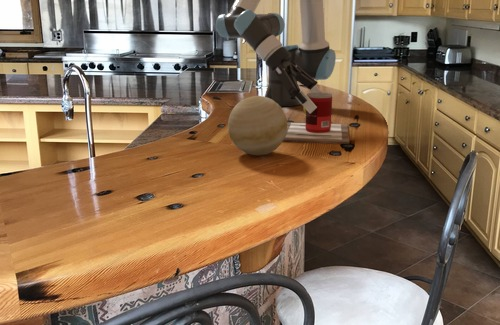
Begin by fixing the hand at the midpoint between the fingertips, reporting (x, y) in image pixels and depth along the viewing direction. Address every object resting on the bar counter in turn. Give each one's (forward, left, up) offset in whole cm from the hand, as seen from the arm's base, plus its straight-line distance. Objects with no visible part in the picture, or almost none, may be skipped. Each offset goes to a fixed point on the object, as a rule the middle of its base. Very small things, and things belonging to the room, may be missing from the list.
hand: (320, 107), depth 156 cm
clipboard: (0, -1, -8) cm, 8 cm away
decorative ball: (+28, -15, -8) cm, 33 cm away
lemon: (-23, -3, -8) cm, 25 cm away
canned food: (-1, 0, -7) cm, 7 cm away
